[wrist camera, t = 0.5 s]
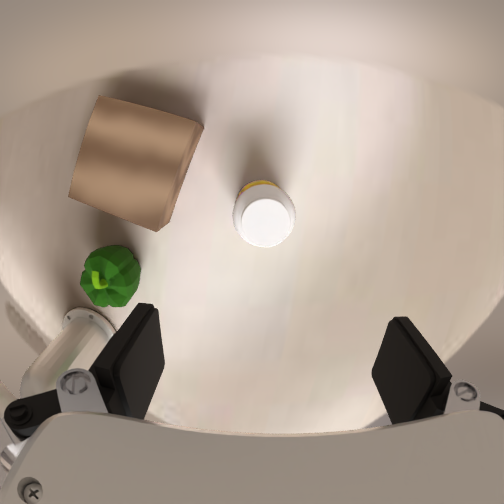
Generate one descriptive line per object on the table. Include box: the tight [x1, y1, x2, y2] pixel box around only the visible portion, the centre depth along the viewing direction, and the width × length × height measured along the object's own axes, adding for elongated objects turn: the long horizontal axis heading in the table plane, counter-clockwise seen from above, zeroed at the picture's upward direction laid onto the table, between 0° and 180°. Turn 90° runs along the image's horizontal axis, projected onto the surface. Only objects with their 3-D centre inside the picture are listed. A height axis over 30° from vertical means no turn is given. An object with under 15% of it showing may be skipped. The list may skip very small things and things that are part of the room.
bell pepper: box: [80, 245, 141, 307], centre depth 36 cm, size 8×8×10 cm
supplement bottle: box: [233, 180, 296, 247], centre depth 32 cm, size 7×7×13 cm
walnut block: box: [68, 95, 204, 232], centre depth 33 cm, size 14×14×6 cm
